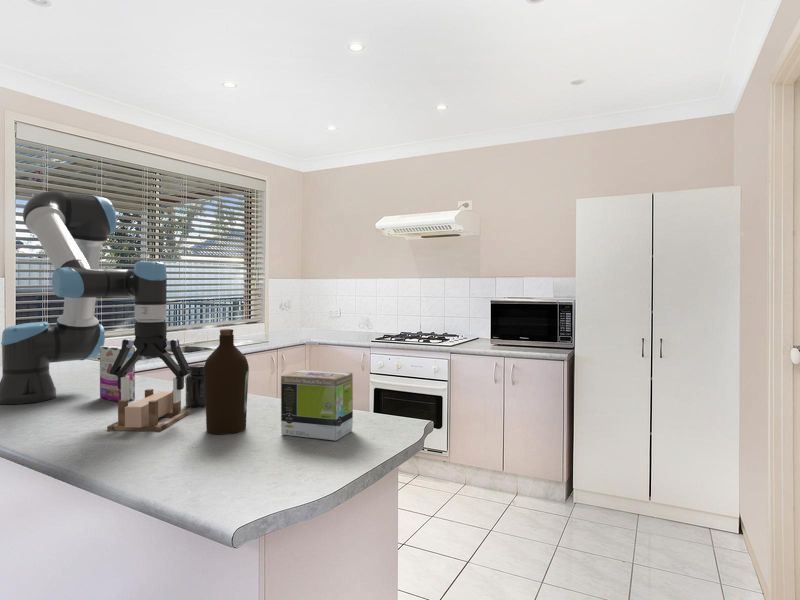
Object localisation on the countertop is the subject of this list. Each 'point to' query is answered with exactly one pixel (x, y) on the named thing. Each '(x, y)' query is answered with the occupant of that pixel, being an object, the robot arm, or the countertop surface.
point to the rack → (153, 415)
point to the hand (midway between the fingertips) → (151, 401)
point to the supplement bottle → (195, 387)
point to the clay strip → (147, 409)
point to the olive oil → (226, 387)
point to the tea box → (317, 404)
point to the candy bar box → (111, 381)
